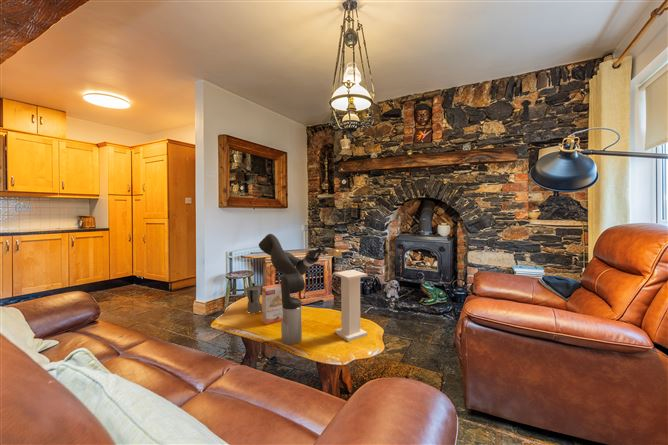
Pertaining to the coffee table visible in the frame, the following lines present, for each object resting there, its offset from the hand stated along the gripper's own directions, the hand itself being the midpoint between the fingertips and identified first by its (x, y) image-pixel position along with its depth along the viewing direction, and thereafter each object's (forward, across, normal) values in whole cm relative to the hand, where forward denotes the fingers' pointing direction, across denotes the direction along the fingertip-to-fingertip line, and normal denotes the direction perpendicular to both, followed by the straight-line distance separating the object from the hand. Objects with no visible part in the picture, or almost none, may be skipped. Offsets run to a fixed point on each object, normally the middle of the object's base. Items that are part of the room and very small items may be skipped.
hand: (322, 248), depth 170 cm
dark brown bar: (+4, 0, +5) cm, 7 cm away
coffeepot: (-48, -32, +20) cm, 61 cm away
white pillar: (+3, 0, +49) cm, 49 cm away
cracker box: (-30, -26, +31) cm, 50 cm away
